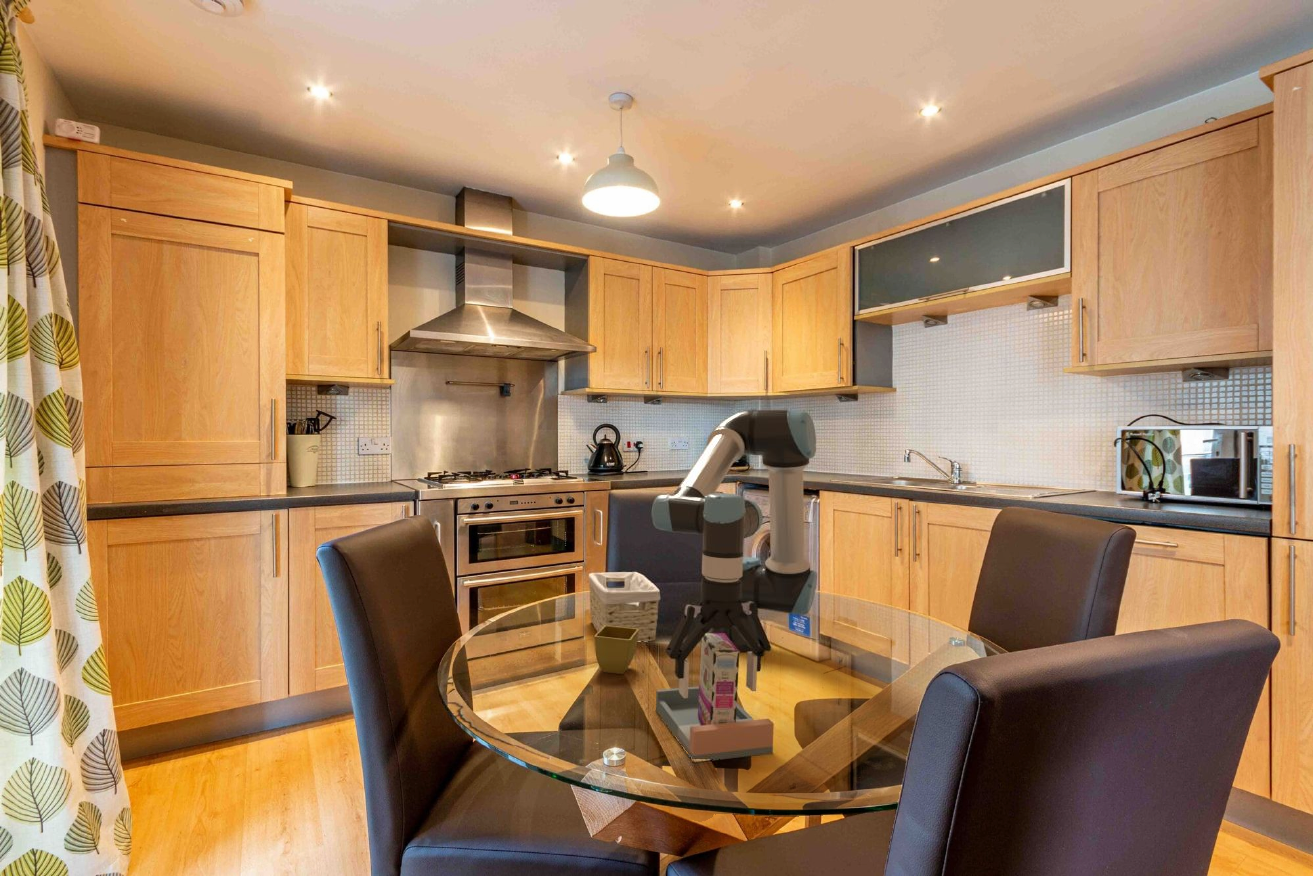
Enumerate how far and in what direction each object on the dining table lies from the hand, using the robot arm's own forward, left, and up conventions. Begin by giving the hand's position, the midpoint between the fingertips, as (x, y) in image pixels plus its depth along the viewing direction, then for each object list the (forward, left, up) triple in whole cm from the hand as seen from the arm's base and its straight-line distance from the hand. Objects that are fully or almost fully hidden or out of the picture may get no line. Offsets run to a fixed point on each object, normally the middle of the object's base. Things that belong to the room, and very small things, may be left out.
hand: (717, 692), depth 116 cm
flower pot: (+10, -36, -8) cm, 39 cm away
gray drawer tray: (0, -2, -8) cm, 8 cm away
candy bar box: (0, 0, -7) cm, 7 cm away
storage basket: (+2, -65, -8) cm, 66 cm away
